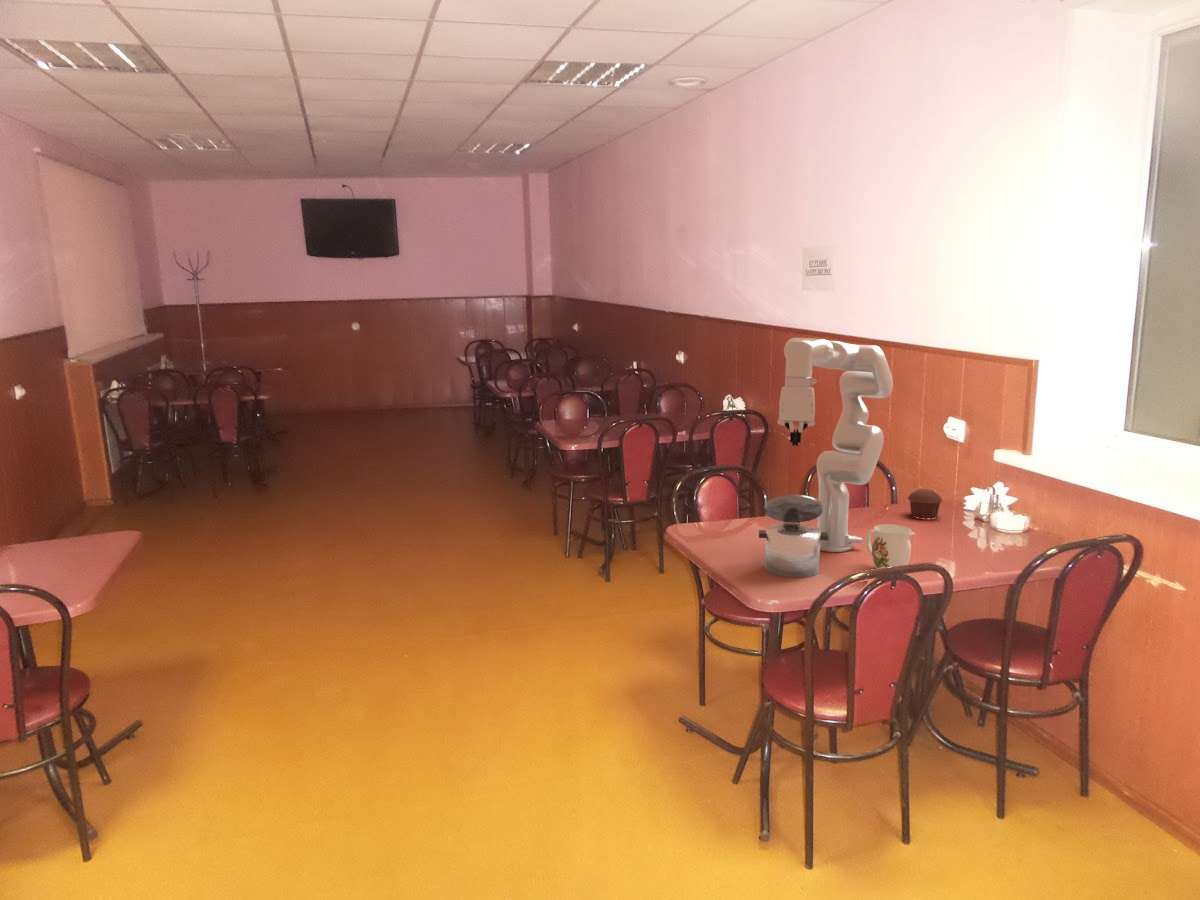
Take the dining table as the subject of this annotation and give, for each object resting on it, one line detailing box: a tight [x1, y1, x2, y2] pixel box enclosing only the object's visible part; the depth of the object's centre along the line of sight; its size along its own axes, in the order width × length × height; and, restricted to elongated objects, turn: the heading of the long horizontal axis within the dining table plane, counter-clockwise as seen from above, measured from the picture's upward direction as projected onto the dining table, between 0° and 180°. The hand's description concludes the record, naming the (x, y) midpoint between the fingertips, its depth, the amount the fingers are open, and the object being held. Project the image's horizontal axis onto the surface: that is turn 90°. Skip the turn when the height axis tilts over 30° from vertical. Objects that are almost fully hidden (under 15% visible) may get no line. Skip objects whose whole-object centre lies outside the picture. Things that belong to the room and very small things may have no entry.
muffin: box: [907, 488, 943, 519], centre depth 314 cm, size 12×11×10 cm
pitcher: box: [865, 523, 916, 569], centre depth 255 cm, size 11×18×14 cm, turn 27°
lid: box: [764, 494, 823, 524], centre depth 258 cm, size 18×17×3 cm
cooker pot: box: [758, 522, 828, 579], centre depth 258 cm, size 20×17×12 cm
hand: (795, 445), depth 253 cm, fingers closed
